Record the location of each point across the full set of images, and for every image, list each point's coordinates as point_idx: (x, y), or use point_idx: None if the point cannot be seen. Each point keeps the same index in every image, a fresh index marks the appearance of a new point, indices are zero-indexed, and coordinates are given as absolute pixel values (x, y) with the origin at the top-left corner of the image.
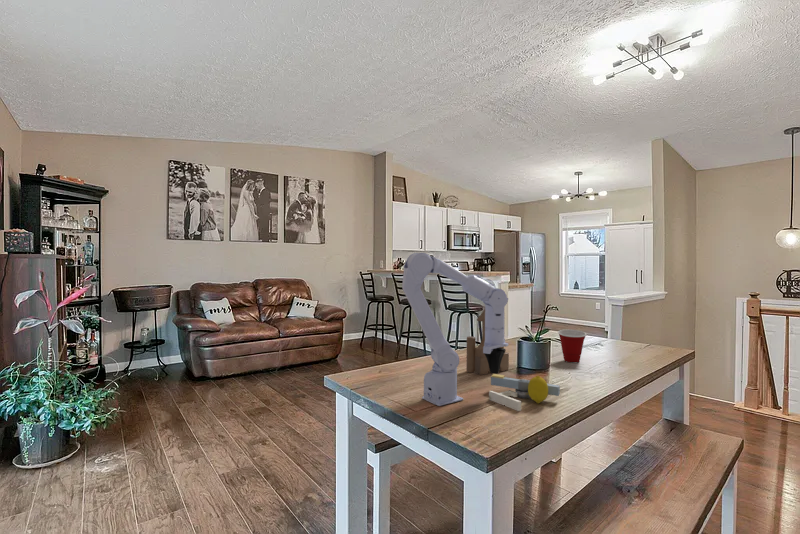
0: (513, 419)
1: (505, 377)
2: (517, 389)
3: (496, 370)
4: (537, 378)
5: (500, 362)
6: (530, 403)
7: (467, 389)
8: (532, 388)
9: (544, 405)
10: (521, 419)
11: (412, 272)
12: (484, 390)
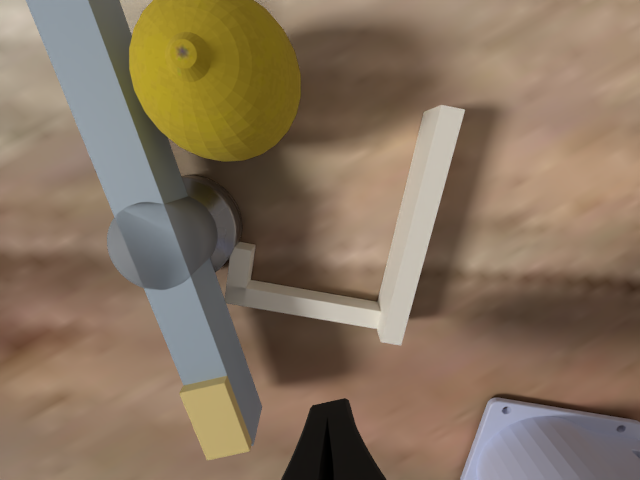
0: (576, 72)
1: (187, 378)
2: None
3: (353, 422)
4: (223, 48)
5: (300, 474)
6: None
7: None
8: (297, 88)
9: None
10: (549, 38)
11: None
12: (282, 408)
